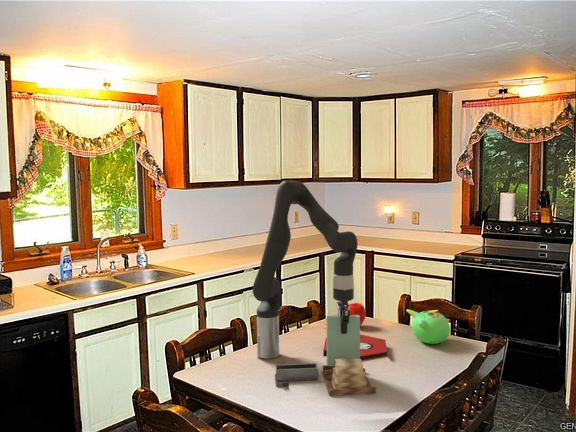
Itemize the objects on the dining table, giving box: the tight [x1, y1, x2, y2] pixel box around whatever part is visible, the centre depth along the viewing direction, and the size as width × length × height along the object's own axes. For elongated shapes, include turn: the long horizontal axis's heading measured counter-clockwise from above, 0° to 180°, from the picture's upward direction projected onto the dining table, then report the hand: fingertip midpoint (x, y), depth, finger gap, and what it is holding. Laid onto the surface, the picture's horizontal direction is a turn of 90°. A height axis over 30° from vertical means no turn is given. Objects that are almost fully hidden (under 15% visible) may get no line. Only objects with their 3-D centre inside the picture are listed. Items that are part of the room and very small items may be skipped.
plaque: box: [323, 333, 388, 361], centre depth 226 cm, size 27×4×30 cm
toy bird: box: [405, 308, 451, 345], centre depth 235 cm, size 18×17×15 cm
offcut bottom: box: [332, 375, 367, 389], centre depth 186 cm, size 11×8×3 cm
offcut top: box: [335, 359, 364, 374], centre depth 186 cm, size 9×6×3 cm, turn 90°
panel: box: [326, 315, 361, 365], centre depth 196 cm, size 12×2×18 cm, turn 94°
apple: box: [348, 302, 366, 327], centre depth 259 cm, size 10×10×12 cm
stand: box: [274, 362, 321, 387], centre depth 196 cm, size 16×8×6 cm, turn 94°
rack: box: [320, 364, 377, 397], centre depth 191 cm, size 16×21×4 cm
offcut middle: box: [333, 368, 367, 384], centre depth 186 cm, size 10×7×3 cm
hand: (343, 332), depth 195 cm, fingers closed on panel, 2 cm apart
